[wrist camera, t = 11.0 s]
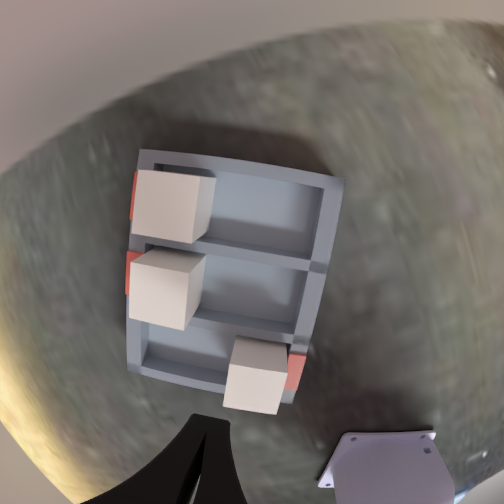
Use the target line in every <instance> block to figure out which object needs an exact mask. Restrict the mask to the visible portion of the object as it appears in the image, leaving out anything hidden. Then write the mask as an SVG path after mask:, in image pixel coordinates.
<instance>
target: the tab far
mask: <svg viewBox="0 0 504 504" xmlns="http://www.w3.org/2000/svg"><path fill="white" fill-rule="evenodd" d="M287 375H288V366H287V350H286V343H283V342H276V341H270V340H264V339H258V338H252V337H246V336H240V335H236V339H235V343H234V347H233V351H232V356H231V360H230V364H229V370H228V377H227V383H226V389H225V396H224V402H223V406H224V407H229V408H235V409H241V410H247V411H253V412H260V413H267V414H275V415H276V414H277V410H278V407H279V404H280V400H281V397H282V393H283V389H284V386H285V382H286V379H287Z"/></svg>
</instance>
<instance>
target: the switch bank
mask: <svg viewBox="0 0 504 504" xmlns="http://www.w3.org/2000/svg"><path fill="white" fill-rule="evenodd" d="M138 169H139V170H154V171H167V172H175V173H184V174H191V175H199V176H207V177H214V178H216V185H215V191H214V198H213V205H212V212H211V219H210V226H209V231H207V232H206V233H205V234H203V235H202V236H201V237H199V238H198V239H197V240H196V241H194V242H193V243H192V244H190V243H185V242H179V241H173V240H167V239H162V238H156V237H150V236H144V235H138V234H133V233H131V232H132V220H133V210H134V200H135V191H136V183H137V175H138ZM345 180H346V179H343V178H338V177H333V176H328V175H324V174H319V173H314V172H308V171H303V170H298V169H292V168H287V167H281V166H275V165H269V164H263V163H257V162H250V161H244V160H237V159H230V158H222V157H215V156H207V155H199V154H190V153H181V152H171V151H160V150H149V149H140V150H139V157H138V164H137V171H136V172H135V174H134V182H133V191H132V199H131V209H130V220H131V225H130V237H129V250H128V251H127V262H126V287H125V294H127V305H126V336H127V369H128V371H131V372H135V373H138V374H142V375H145V376H149V377H153V378H156V379H160V380H164V381H168V382H172V383H176V384H180V385H185V386H189V387H194V388H198V389H203V390H208V391H213V392H218V393H223V394H225V389H226V383H227V377H228V370H229V364H230V360H231V356H232V351H233V347H234V343H235V339H236V335H240V336H246V337H252V338H258V339H264V340H270V341H276V342H283V343H286V350H287V366H288V375H287V379H286V382H285V386H284V389H283V393H282V397H281V400H280V403H288V404H292V401H293V398H294V395H295V392H296V391H297V388H298V384H299V381H300V378H301V374H302V371H303V367H304V364H305V360H306V357H307V356H306V354H307V350H308V347H309V343H310V339H311V336H312V332H313V328H314V324H315V320H316V316H317V312H318V309H319V304H320V300H321V296H322V292H323V288H324V284H325V279H326V275H327V271H328V266H329V262H330V257H331V252H332V248H333V243H334V238H335V233H336V228H337V223H338V218H339V213H340V208H341V202H342V197H343V191H344V185H345ZM157 246H164V247H170V248H175V249H181V250H186V251H192V252H198V253H203V254H207V257H206V264H205V272H204V281H203V289H202V298H201V303H200V304H199V306H198V308H197V309H196V311H195V313H194V315H193V316H192V318H191V320H190V321H189V323H188V325H187V326H186V328H185V330H184V331H183V330H178V329H174V328H169V327H165V326H160V325H156V324H152V323H148V322H144V321H140V320H136V319H132V318H129V287H130V264H131V261H133V260H135V259H136V258H138V257H140V256H141V255H143V254H145V253H147V252H148V251H150V250H152V249H153V248H155V247H157Z"/></svg>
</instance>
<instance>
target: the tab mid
mask: <svg viewBox="0 0 504 504" xmlns="http://www.w3.org/2000/svg"><path fill="white" fill-rule="evenodd" d="M206 257H207V254H203V253H198V252H192V251H186V250H181V249H175V248H170V247H164V246H157V247H155V248H153V249H152V250H150V251H148V252H147V253H145V254H143V255H141V256H140V257H138V258H136V259H135V260H133V261H131V264H130V287H129V318H132V319H136V320H140V321H144V322H148V323H152V324H156V325H160V326H165V327H169V328H174V329H178V330H183V331H184V330H185V328H186V326H187V325H188V323H189V321H190V320H191V318H192V316H193V315H194V313H195V311H196V309H197V308H198V306H199V304H200V303H201V298H202V289H203V281H204V272H205V264H206Z"/></svg>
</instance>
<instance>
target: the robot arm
mask: <svg viewBox="0 0 504 504" xmlns="http://www.w3.org/2000/svg"><path fill="white" fill-rule="evenodd" d="M435 435H436V432H435V431H434V430H428V431H414V432H391V433H345V434H344V435H343V436H342V437H341V439H340V441H339V443H338V445H337V447H336V449H335V451H334V453H333V455H332V457H331V459H330V461H329V463H328V465H327V466H326V468H325V470H324V472H323V474H322V476H321V477H320V479H319V481H318V486H319V487H334V490H335V497H336V504H454V498H455V490H454V484H453V481H452V478H451V476H450V474H449V472H448V470H447V468H446V466H445V464H444V462H443V460H442V458H441V456H440V454H439V452H438V450H437V448H436V446H435V444H434V442H433V439H434V437H435ZM354 437H355V438H354ZM200 474H201V475H200ZM199 476H200V481H199V485H198V488H197V492H196V496H195V499H194V503H193V504H247V502H246V499H245V497H244V494H243V492H242V489H241V486H240V483H239V480H238V476H237V473H236V469H235V465H234V460H233V456H232V450H231V443H230V422H229V421H228V420H223V419H218V418H213V417H208V416H204V415H199V414H195V413H194V414H192V415H191V416H190V418H189V420H188V421H187V423H186V424H185V425H184V427H183V428H182V429H181V431H180V432H179V433H178V434H177V436H176V437H175V438H174V439H173V440H172V441H171V442H170V443H169V444H168V445H167V447H166V448H165V449H164V450H163V451H162V452H161V453H159V454H158V455H157V456H156V457H155V458H154V459H153V460H152V461H151V462H150V463H148V464H147V465H146V466H145V467H144V468H142V469H141V470H140V471H138V472H137V473H136V474H134V475H133V476H132V477H130V478H129V479H127V480H126V481H124V482H122V483H121V484H119V485H118V486H116V487H114V488H112V489H111V490H109V491H107V492H105V493H103V494H101V495H99V496H97V497H94V498H92V499H90V500H88V501H85V502H83V503H80V504H189V503H190V500H191V498H192V495H193V492H194V490H195V487H196V484H197V482H198V479H199Z"/></svg>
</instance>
